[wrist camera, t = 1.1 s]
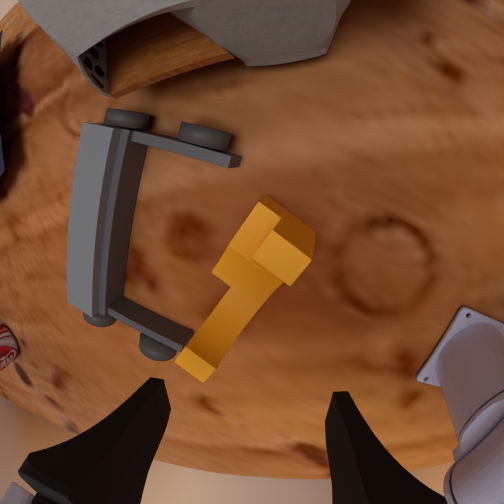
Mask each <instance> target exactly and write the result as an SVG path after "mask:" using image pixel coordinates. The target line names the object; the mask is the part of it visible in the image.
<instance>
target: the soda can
mask: <svg viewBox="0 0 504 504" xmlns="http://www.w3.org/2000/svg"><path fill="white" fill-rule="evenodd" d="M17 357H18V344H17V342H16V340H15V338H14V336H13V334H12V333H11V332H10V330H9V329H8V328H6V327H4V326H3V325H0V371H1V370H2V369H4V368H5V367H6V366H8V365H9V364H10V363H11V362H13V361H14V360H15V359H16V358H17Z"/></svg>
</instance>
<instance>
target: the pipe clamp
mask: <svg viewBox="0 0 504 504" xmlns="http://www.w3.org/2000/svg"><path fill="white" fill-rule="evenodd" d="M316 233H317V232H316V231H314V230H313V229H312V228H311V227H309V226H308V225H307V224H305V223H304V222H303V221H301V220H300V219H299V218H297V217H296V216H295V215H293V214H292V213H291V212H289V211H288V210H287V209H285V208H284V207H283V206H281V205H280V204H279V203H277V202H276V201H274V200H273V199H272V198H270V197H269V196H267V197H265V198H264V199H262V200H260V201H259V202H258V203H257V205H256V206H255V208H254V209H253V210H252V212H251V213H250V215H249V216H248V218H247V219H246V220H245V222H244V223H243V225H242V226H241V228H240V229H239V231H238V232H237V233H236V235H235V236H234V238H233V239H232V241H231V242H230V244H229V245H228V247H227V249H226V251H225V252H224V254H223V255H222V257H221V259H220V260H219V262H218V263H217V265H216V266H215V268H214V269H213V271H212V272H211V273H213V274H214V275H215V276H217V277H218V278H219V279H221V280H222V281H223V282H225V283H226V284H227V285H229V286H230V289H229V290H228V291H227V293H226V294H225V295H224V297H223V298H222V299H221V301H220V302H219V303H218V305H217V306H216V307H215V309H214V310H213V311H212V312H211V314H210V315H209V316H208V318H207V319H206V320H205V322H204V323H203V324H202V326H201V327H200V328H199V330H198V331H197V332H196V334H195V335H194V336H193V337H192V339H191V340H190V341H189V343H188V344H187V345H186V347H185V348H184V349H183V351H182V352H181V353H180V355H179V356H178V357H177V359H176V360H175V361H174V362H175V363H177V364H178V365H179V366H181V367H182V368H183V369H185V370H186V371H188V372H189V373H190V374H192V375H193V376H194V377H196V378H197V379H199V380H200V381H202V382H203V383H204V382H205V381H206V380H207V379H208V377H209V376H210V375H211V374H212V373H213V372H214V371H215V370H216V369H217V367H218V365H219V364H220V362H221V360H222V359H223V357H224V356H225V354H226V353H227V351H228V350H229V348H230V347H231V345H232V344H233V342H234V341H235V340H236V338H237V337H238V335H239V334H240V333H241V331H242V330H243V329H244V327H245V326H246V325H247V323H248V322H249V321H250V319H251V318H252V317H253V316H254V314H255V313H256V312H257V311H258V309H259V308H260V307H261V306H262V305H263V303H264V302H265V301H266V300H267V299H268V298H269V296H270V295H271V294H272V293H273V292H274V291H275V290H276V289H277V288H278V287H279V286H280V285H281V284H282V283H284V282H285V283H286V284H287V285H289V286H291V285H292V284H293V282H294V281H295V280H296V279H297V278H298V276H299V275H300V274H301V273H302V272H303V270H304V269H305V268H306V267H307V266H308V264H309V263H310V262H311V261H312V258H313V252H314V246H315V240H316Z"/></svg>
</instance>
